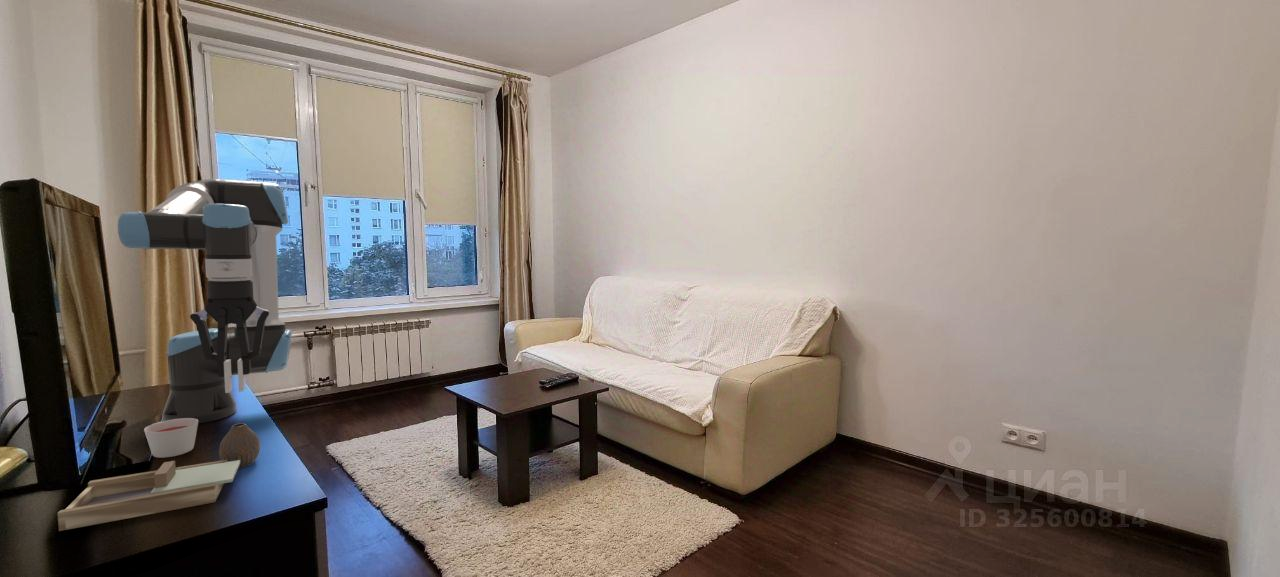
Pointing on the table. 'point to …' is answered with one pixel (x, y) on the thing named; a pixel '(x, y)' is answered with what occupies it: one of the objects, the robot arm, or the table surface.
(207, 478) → the lid
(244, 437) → the vase
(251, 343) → the robot arm
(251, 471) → the table surface
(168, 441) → the candle
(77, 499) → the wooden box
